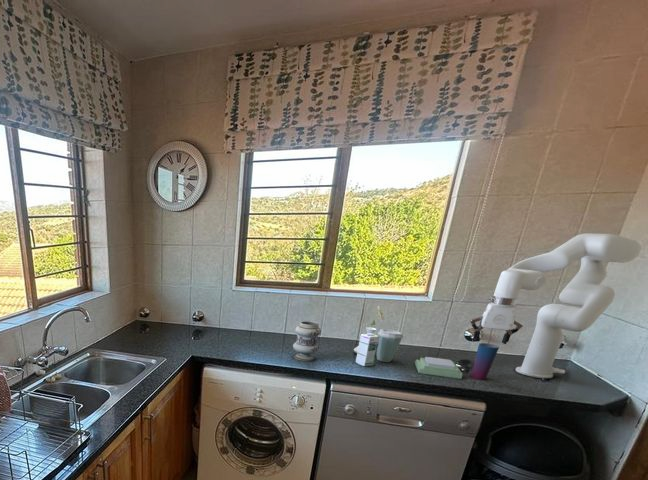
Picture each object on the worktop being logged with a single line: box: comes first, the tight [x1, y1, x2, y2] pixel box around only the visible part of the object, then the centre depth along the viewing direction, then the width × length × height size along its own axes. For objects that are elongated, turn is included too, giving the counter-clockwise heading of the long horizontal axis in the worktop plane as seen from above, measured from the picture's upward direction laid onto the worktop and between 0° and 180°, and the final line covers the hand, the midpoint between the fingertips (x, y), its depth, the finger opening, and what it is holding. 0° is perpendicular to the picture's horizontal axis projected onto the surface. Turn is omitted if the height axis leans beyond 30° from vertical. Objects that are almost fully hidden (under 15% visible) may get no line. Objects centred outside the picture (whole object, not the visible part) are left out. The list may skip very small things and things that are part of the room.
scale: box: [414, 357, 464, 380], centre depth 184 cm, size 16×14×4 cm
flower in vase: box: [353, 305, 385, 356], centre depth 202 cm, size 13×11×25 cm
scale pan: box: [424, 356, 455, 369], centre depth 183 cm, size 10×10×2 cm
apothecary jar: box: [292, 320, 322, 362], centre depth 197 cm, size 12×12×18 cm
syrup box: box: [355, 333, 380, 367], centre depth 190 cm, size 6×6×14 cm
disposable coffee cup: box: [376, 328, 404, 363], centre depth 195 cm, size 11×11×15 cm
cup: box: [470, 342, 500, 381], centre depth 174 cm, size 7×7×15 cm
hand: (489, 341), depth 171 cm, fingers open, 9 cm apart
